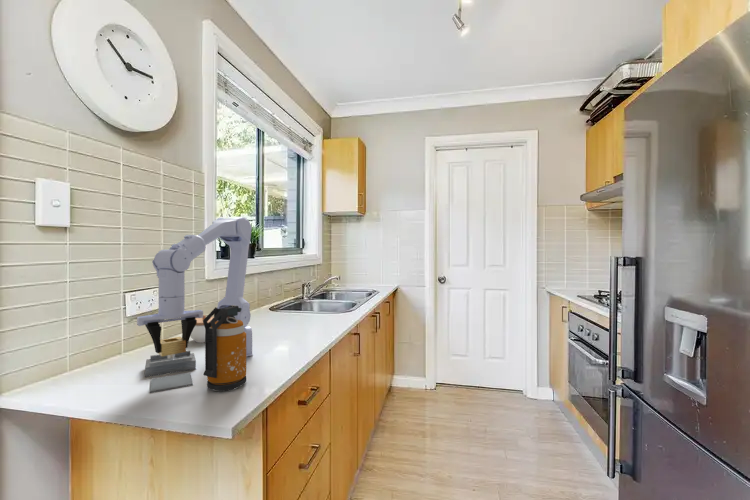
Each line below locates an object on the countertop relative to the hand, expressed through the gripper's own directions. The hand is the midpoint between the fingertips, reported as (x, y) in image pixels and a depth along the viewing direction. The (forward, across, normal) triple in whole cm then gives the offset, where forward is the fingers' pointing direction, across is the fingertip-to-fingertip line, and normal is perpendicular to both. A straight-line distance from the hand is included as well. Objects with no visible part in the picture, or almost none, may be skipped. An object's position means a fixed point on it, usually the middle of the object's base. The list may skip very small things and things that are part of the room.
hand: (171, 349), depth 88 cm
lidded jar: (+9, -20, -37) cm, 43 cm away
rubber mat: (+8, 0, 0) cm, 8 cm away
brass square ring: (+1, 0, 0) cm, 1 cm away
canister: (+9, -8, +12) cm, 17 cm away
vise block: (+8, -3, -12) cm, 15 cm away
